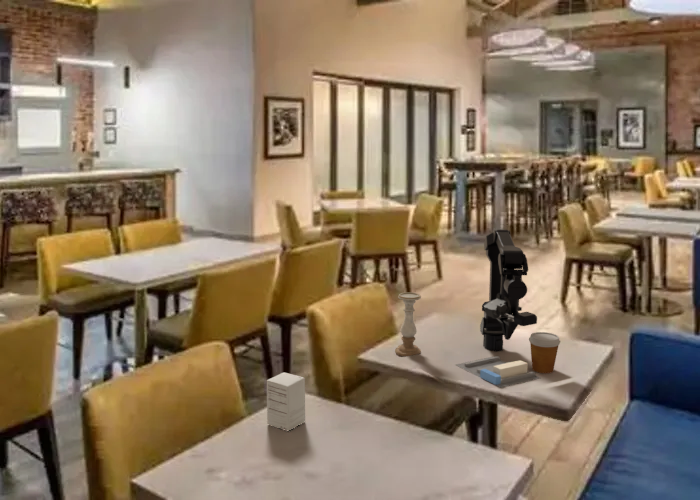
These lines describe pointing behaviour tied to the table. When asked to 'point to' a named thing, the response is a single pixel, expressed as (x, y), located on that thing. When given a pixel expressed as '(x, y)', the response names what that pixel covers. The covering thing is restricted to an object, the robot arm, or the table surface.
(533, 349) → the disposable coffee cup
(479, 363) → the duct tray
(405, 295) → the candle holder
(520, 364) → the cream rectangular block
